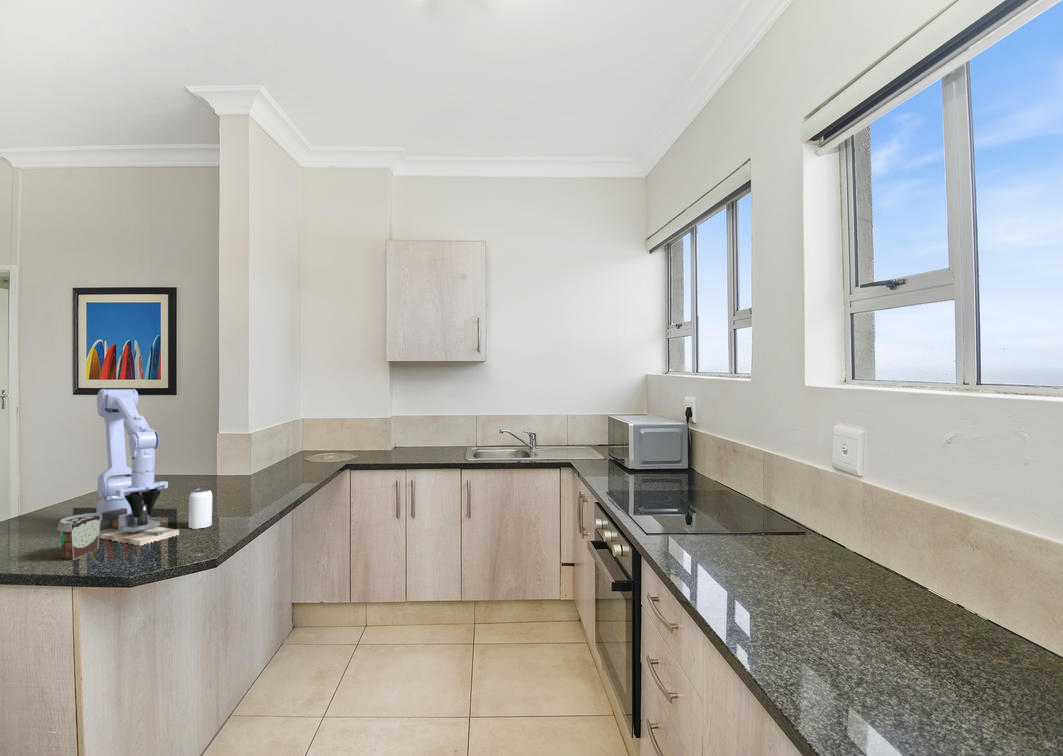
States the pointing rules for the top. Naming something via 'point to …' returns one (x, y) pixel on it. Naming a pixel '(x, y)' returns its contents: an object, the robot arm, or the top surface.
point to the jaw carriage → (137, 521)
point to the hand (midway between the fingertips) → (142, 516)
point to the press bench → (112, 532)
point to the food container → (79, 534)
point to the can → (200, 508)
